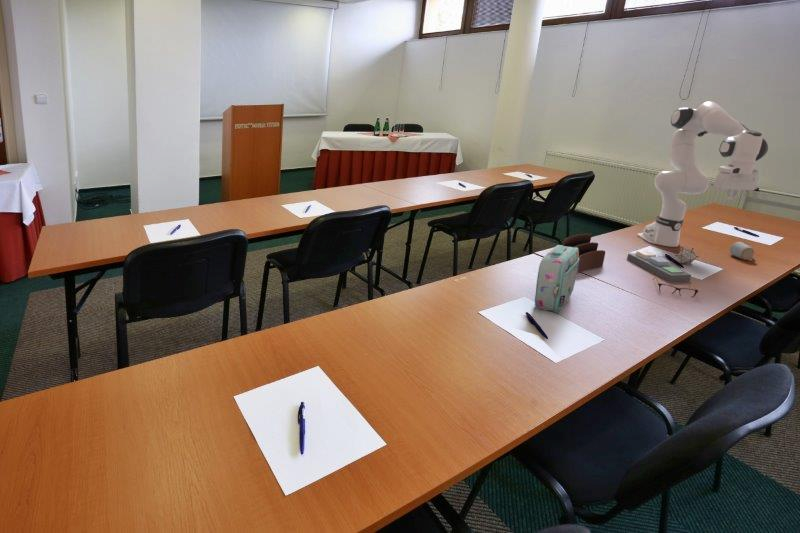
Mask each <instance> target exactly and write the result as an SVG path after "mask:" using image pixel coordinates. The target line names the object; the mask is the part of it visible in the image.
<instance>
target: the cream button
mask: <svg viewBox="0 0 800 533" xmlns="http://www.w3.org/2000/svg"><path fill="white" fill-rule="evenodd" d="M635 253H636V255H637V256H639V257H640V258H642V259H649V257H657V254H656V253H653V252H651V251H649V250H636V252H635Z"/></svg>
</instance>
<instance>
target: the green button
mask: <svg viewBox="0 0 800 533" xmlns="http://www.w3.org/2000/svg"><path fill="white" fill-rule="evenodd" d="M662 269H664V270H666V271H668V272H670V273H683V271H684V270H683V271H681V270H682V269H681V270H679V269H680V268H679V269H676V268H674V267H662Z"/></svg>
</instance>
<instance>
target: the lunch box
mask: <svg viewBox="0 0 800 533" xmlns="http://www.w3.org/2000/svg"><path fill="white" fill-rule="evenodd" d="M578 256H579V251H578V248H577V247H575V248H573V247H567V246H562V244H557V245H556V246H554V247H553V248H552V249H551V250H550V251H549V252H547V254H545V255H544V256H543V258H542V259H541V261H540V263H539V265H538V266H539V267H538V271H537V276H536V277H537V278H536V283H535V284H536V285H535V294H534V306H535V308H536V309H539V310H545V311H551V312H554V313H556V314H558V313H561V311H563V308H564V306H565V305H566V304H567V303H568V301H569V300H570V298H571V296H572V294H573V290H574V287H575V282H576V278H577V275H578V272H577V270H578V265H579V257H578Z"/></svg>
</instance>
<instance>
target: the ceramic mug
mask: <svg viewBox="0 0 800 533" xmlns="http://www.w3.org/2000/svg"><path fill="white" fill-rule="evenodd" d="M729 254H730V255H732V256H733V257H735V258H738V259H741V260H743V261H744V260H745V261H747V260H750V259H752V260H754V259H755V258H756V257H755V255H754V254H755V250H754V248H753V247H752V246H750V245H748V244H746V243H744V242H742V241H736V242H735V243H733V244H732V245H731V246H730V248H729Z"/></svg>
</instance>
